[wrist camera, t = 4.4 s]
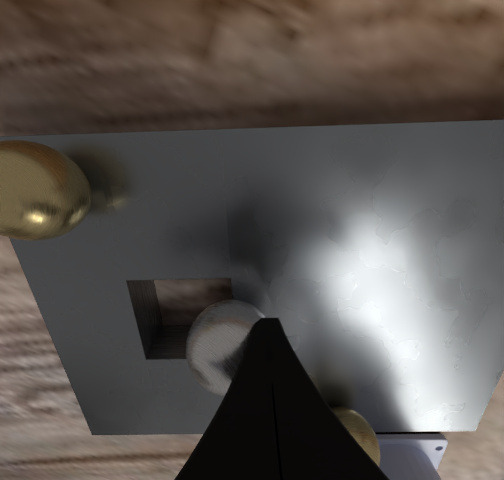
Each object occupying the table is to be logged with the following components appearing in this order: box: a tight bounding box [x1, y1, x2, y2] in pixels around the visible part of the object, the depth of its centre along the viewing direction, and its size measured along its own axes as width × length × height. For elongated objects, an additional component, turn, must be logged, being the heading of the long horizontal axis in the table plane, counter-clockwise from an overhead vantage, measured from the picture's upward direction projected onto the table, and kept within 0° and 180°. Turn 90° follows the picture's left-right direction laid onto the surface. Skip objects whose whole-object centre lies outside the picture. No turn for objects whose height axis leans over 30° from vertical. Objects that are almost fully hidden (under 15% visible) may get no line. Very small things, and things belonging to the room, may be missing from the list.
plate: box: [0, 120, 504, 435], centre depth 12 cm, size 16×22×2 cm
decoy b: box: [0, 140, 92, 241], centre depth 7 cm, size 3×3×3 cm
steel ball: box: [186, 300, 265, 396], centre depth 9 cm, size 3×3×3 cm
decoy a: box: [331, 407, 381, 467], centre depth 12 cm, size 3×3×3 cm
